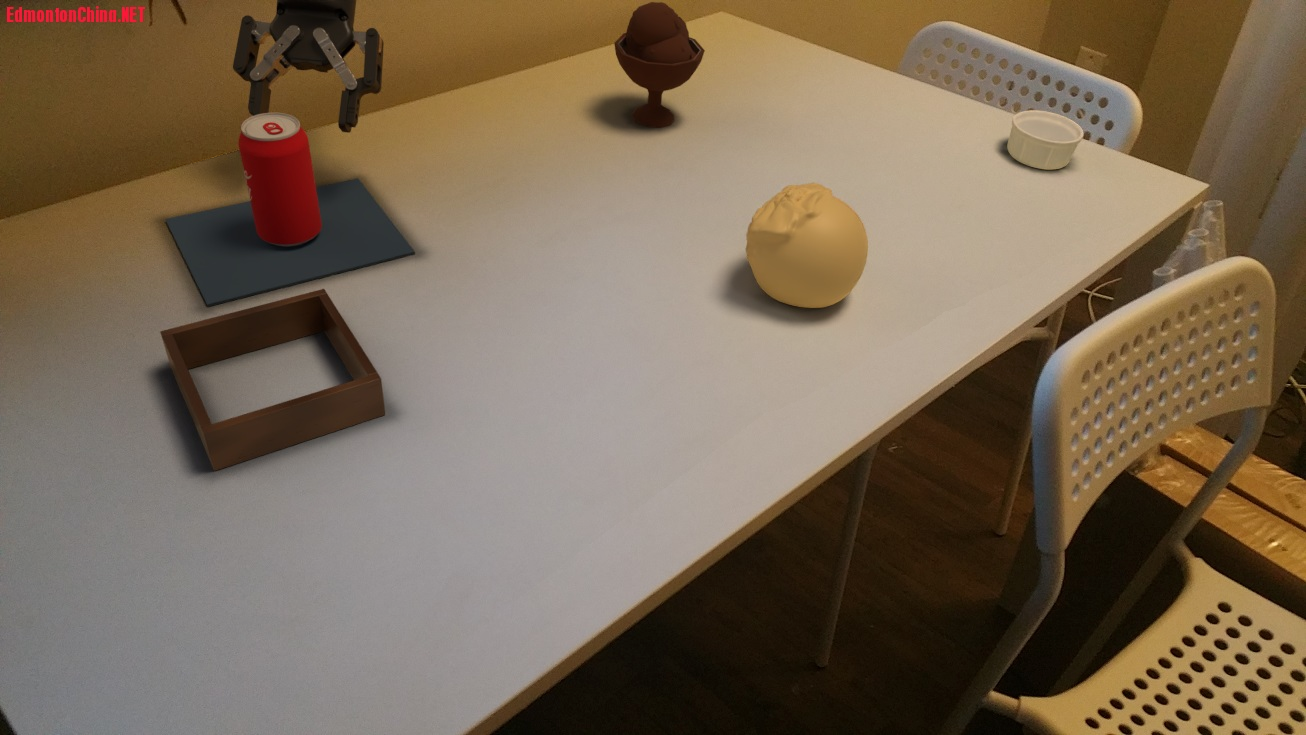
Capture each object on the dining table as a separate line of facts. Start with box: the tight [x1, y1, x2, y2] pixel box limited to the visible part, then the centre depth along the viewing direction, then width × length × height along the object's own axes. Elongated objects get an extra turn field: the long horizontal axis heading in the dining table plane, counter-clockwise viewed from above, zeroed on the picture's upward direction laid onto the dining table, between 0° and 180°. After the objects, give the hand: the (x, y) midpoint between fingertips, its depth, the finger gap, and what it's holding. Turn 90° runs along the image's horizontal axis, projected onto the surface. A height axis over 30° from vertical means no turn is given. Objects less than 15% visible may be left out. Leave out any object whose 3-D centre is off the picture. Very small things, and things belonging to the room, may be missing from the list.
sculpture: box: [745, 182, 869, 309], centre depth 97 cm, size 12×12×11 cm
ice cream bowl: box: [613, 1, 706, 128], centre depth 122 cm, size 11×11×15 cm
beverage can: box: [237, 112, 322, 247], centre depth 95 cm, size 6×6×12 cm
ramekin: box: [1006, 109, 1085, 171], centre depth 127 cm, size 9×9×4 cm
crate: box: [160, 288, 386, 472], centre depth 81 cm, size 14×14×4 cm
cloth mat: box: [165, 177, 416, 308], centre depth 99 cm, size 20×16×1 cm
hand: (302, 125), depth 99 cm, fingers open, 8 cm apart
